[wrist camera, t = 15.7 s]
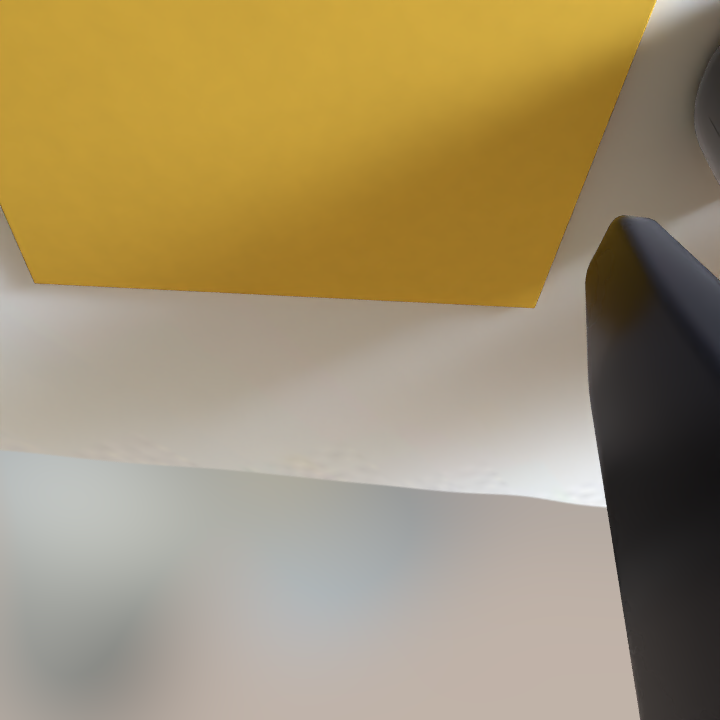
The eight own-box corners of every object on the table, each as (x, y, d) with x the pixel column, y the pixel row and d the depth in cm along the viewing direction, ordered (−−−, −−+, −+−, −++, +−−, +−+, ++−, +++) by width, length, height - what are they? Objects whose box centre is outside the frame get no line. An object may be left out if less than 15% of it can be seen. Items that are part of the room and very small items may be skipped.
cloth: (37, 276, 26) (34, 283, 25) (-187, -247, 14) (-196, -242, 14) (533, 300, 27) (534, 308, 26) (715, -169, 15) (722, -163, 15)
